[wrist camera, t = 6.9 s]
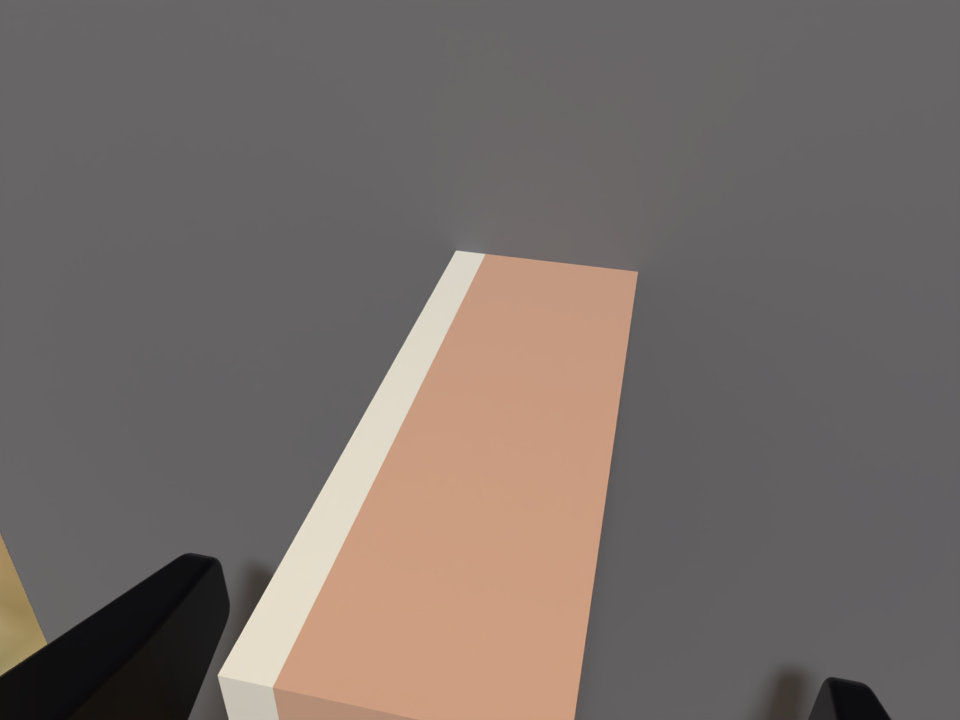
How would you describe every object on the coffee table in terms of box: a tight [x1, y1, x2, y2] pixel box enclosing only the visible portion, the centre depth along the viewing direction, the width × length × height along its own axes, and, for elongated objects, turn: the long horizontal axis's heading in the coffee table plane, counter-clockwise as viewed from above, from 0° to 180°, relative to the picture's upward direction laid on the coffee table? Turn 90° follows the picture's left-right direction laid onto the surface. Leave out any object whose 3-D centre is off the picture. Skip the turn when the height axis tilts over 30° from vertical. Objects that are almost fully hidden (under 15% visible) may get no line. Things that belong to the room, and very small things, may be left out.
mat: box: [0, 0, 960, 720], centre depth 10 cm, size 18×16×1 cm
